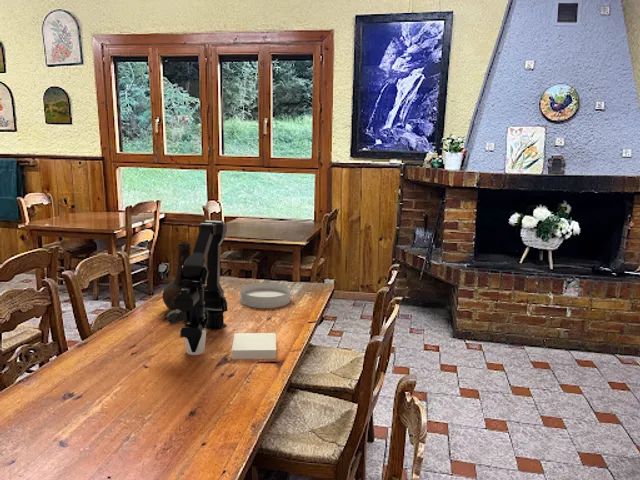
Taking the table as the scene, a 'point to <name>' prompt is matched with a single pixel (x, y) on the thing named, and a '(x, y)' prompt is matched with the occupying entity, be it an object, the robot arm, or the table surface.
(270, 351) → the base block
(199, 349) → the white cup
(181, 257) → the glass bottle
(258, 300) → the dish
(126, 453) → the table surface
